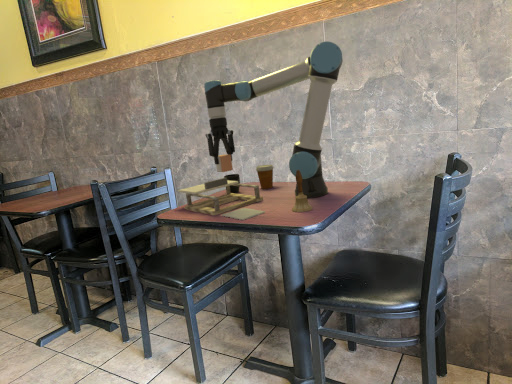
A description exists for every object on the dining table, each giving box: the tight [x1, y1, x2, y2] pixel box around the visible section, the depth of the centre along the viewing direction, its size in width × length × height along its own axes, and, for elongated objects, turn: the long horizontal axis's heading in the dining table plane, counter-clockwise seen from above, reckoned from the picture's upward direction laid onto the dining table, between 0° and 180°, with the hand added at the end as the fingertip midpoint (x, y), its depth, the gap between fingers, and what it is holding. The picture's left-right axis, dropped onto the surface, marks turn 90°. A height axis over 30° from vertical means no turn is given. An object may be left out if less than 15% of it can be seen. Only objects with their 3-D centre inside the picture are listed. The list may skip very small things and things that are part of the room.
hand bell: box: [291, 170, 314, 213], centre depth 147 cm, size 8×8×16 cm
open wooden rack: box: [184, 183, 264, 216], centre depth 173 cm, size 24×28×7 cm
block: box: [215, 154, 234, 173], centre depth 166 cm, size 5×5×7 cm
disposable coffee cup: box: [255, 164, 274, 190], centre depth 200 cm, size 10×10×12 cm
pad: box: [220, 207, 266, 221], centre depth 152 cm, size 14×12×1 cm
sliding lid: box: [177, 177, 238, 195], centre depth 180 cm, size 15×25×4 cm, turn 131°
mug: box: [223, 173, 241, 194], centre depth 200 cm, size 8×12×10 cm
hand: (224, 170), depth 166 cm, fingers closed on block, 5 cm apart
